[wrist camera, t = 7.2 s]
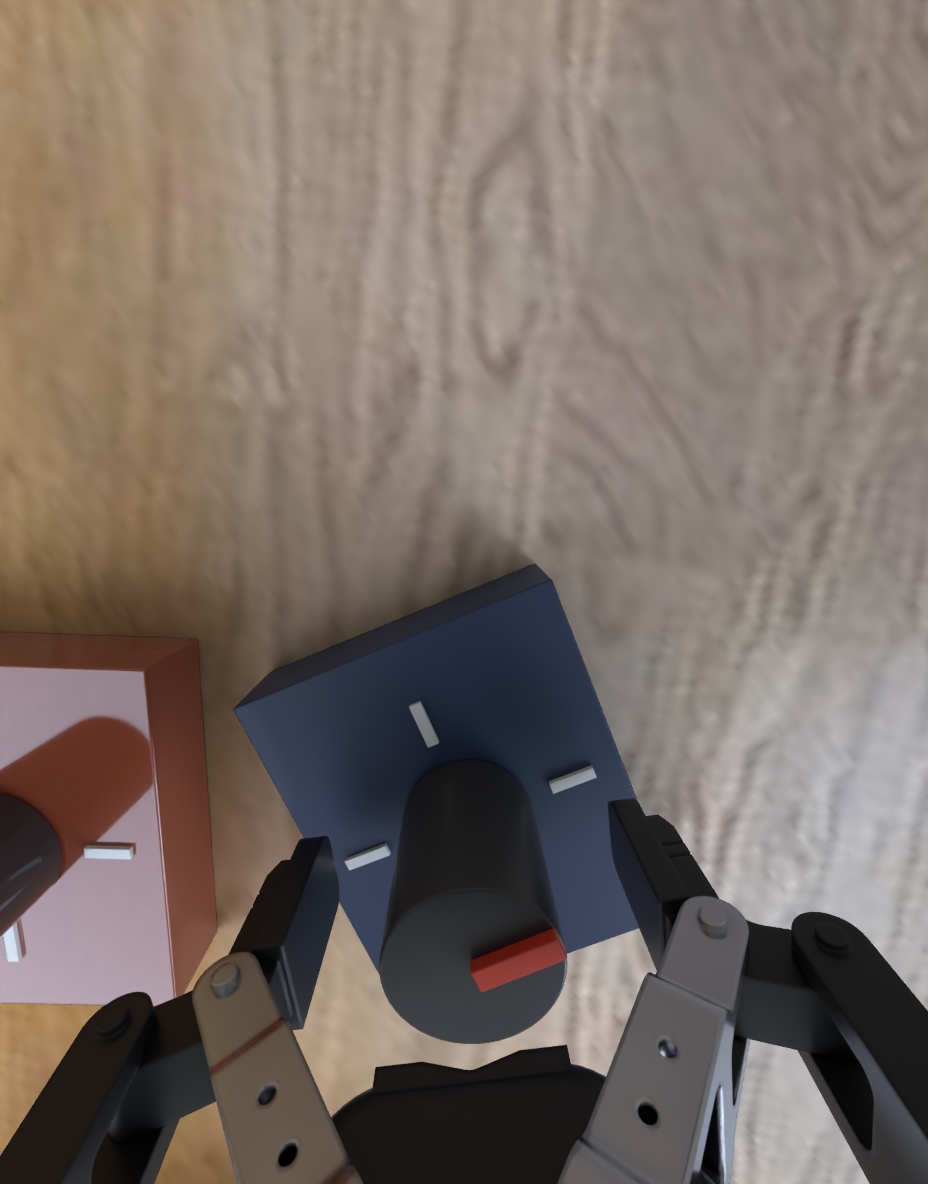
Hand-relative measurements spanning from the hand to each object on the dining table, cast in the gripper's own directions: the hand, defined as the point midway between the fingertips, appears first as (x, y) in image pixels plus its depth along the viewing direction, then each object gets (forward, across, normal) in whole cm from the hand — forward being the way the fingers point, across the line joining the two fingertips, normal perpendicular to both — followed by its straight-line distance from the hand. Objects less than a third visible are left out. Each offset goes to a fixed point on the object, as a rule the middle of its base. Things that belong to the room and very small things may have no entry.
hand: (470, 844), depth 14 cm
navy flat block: (+4, 0, 0) cm, 4 cm away
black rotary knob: (+1, 0, 0) cm, 1 cm away
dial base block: (+4, +14, -1) cm, 15 cm away
